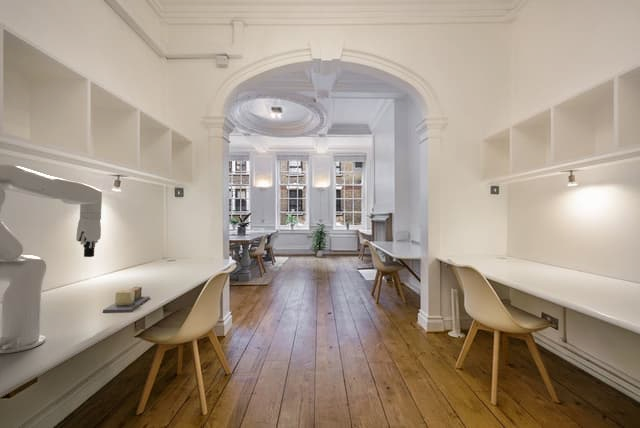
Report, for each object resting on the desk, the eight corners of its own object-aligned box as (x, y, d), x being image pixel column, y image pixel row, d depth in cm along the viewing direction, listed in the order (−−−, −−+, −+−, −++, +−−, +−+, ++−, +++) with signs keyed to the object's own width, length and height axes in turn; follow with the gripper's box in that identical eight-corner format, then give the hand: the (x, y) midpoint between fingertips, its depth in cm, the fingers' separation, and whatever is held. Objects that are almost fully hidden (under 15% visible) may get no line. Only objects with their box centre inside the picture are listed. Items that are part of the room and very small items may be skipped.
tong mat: (130, 311, 136) (130, 309, 136) (102, 312, 134) (102, 310, 134) (149, 298, 158) (149, 296, 158) (125, 299, 156) (125, 296, 156)
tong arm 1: (124, 304, 142) (124, 294, 142) (120, 304, 142) (120, 294, 142) (137, 296, 157) (137, 286, 157) (134, 296, 157) (134, 287, 157)
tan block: (130, 305, 141) (130, 292, 141) (115, 305, 140) (115, 292, 140) (134, 302, 145) (134, 290, 145) (119, 303, 144) (119, 290, 144)
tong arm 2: (128, 304, 142) (128, 294, 143) (124, 304, 142) (125, 294, 142) (141, 296, 157) (141, 286, 157) (138, 296, 157) (138, 286, 157)
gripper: (91, 215, 136) (89, 254, 136) (69, 216, 121) (68, 259, 121) (108, 216, 137) (107, 254, 137) (89, 216, 122) (88, 259, 122)
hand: (88, 256), depth 129 cm, fingers closed
